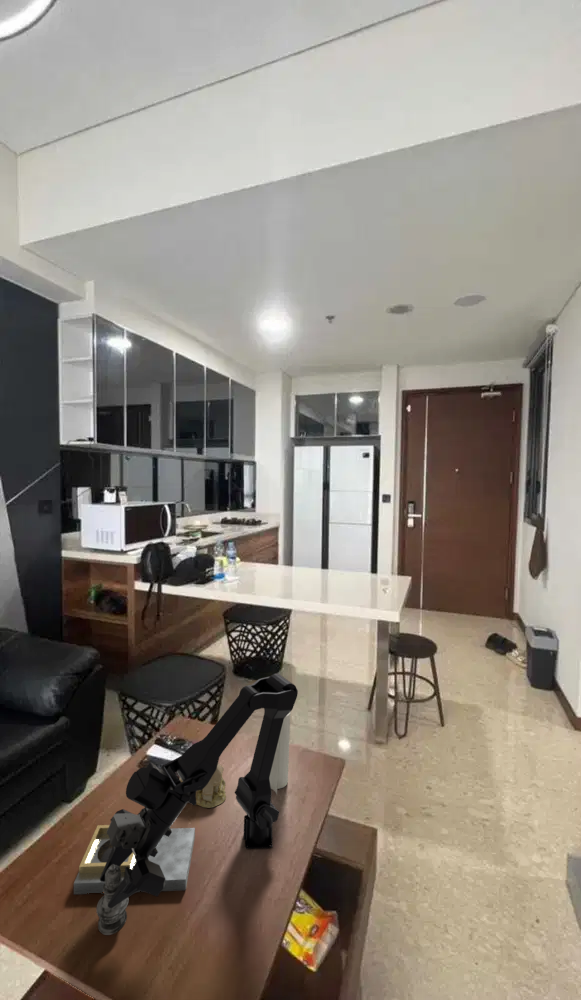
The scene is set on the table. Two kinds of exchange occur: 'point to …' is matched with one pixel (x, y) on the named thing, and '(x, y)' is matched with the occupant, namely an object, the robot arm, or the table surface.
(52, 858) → the table surface
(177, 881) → the grey slab
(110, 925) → the grey tiered ornament
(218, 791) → the ceramic model
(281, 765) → the paper towel roll
